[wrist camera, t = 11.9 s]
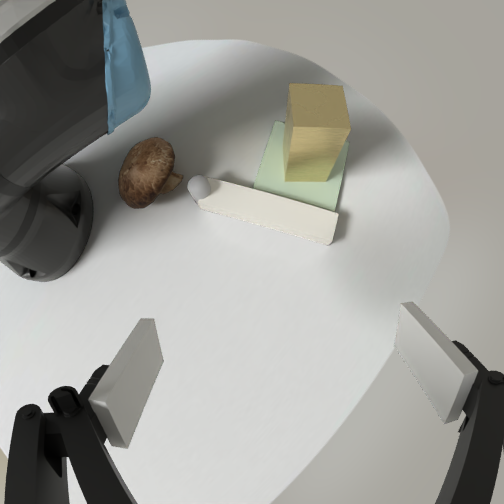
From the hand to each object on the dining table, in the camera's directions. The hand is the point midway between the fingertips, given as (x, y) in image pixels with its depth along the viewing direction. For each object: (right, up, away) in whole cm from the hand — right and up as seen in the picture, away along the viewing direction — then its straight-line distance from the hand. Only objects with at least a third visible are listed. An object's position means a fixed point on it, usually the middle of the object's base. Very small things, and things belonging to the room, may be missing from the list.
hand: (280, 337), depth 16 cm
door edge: (0, +8, +17) cm, 19 cm away
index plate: (+4, +14, +18) cm, 23 cm away
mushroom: (-13, +12, +19) cm, 26 cm away
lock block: (+4, +14, +18) cm, 23 cm away
